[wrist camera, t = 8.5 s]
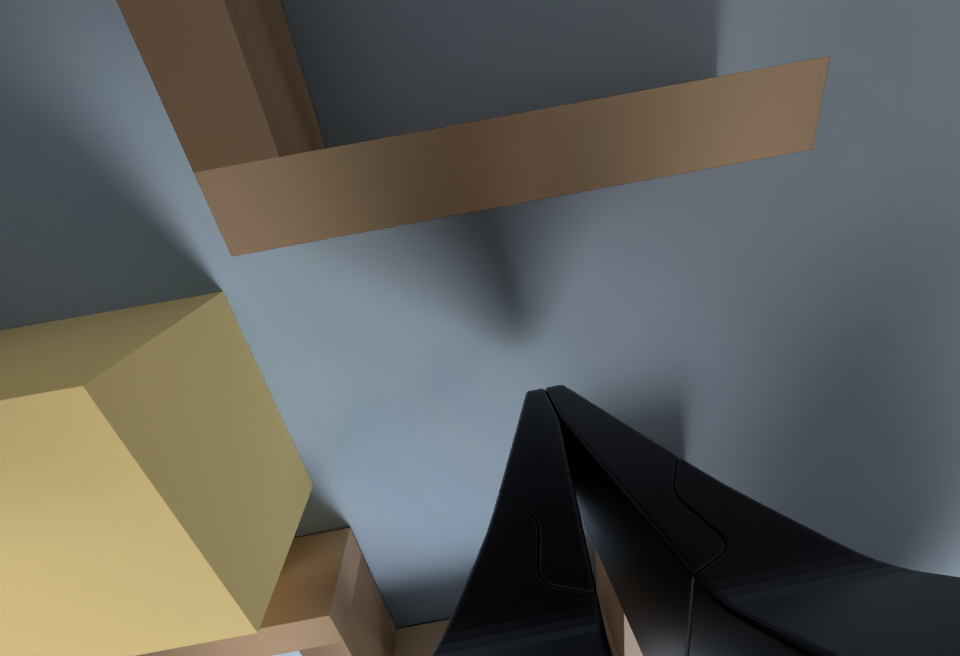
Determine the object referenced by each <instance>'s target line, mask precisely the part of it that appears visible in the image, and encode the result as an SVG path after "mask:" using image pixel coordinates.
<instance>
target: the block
mask: <svg viewBox="0 0 960 656" xmlns="http://www.w3.org/2000/svg"><path fill="white" fill-rule="evenodd" d="M312 488H313V484H312V482H311V479H310V477H309V475H308V473H307V471H306V469H305V466H304V464H303V462H302V460H301V458H300V456H299V454H298V451H297V449H296V447H295V445H294V443H293V441H292V439H291V436H290V434H289V432H288V430H287V428H286V426H285V424H284V421H283V419H282V417H281V415H280V413H279V411H278V409H277V406H276V404H275V402H274V400H273V398H272V396H271V394H270V391H269V389H268V387H267V385H266V383H265V381H264V379H263V376H262V374H261V372H260V370H259V368H258V366H257V364H256V361H255V359H254V357H253V355H252V353H251V351H250V349H249V346H248V344H247V342H246V340H245V338H244V336H243V334H242V331H241V329H240V327H239V325H238V323H237V321H236V319H235V316H234V314H233V312H232V310H231V308H230V306H229V304H228V301H227V299H226V297H225V295H224V293H223V291H222V292H217V293H211V294H205V295H199V296H194V297H188V298H182V299H176V300H171V301H165V302H159V303H153V304H148V305H142V306H136V307H130V308H125V309H119V310H113V311H108V312H102V313H96V314H90V315H85V316H79V317H73V318H67V319H62V320H56V321H50V322H44V323H39V324H33V325H27V326H21V327H16V328H10V329H4V330H0V656H136V655H141V654H147V653H152V652H157V651H163V650H168V649H174V648H179V647H184V646H190V645H195V644H201V643H206V642H211V641H217V640H222V639H228V638H233V637H238V636H244V635H249V634H255V633H258V631H259V628H260V625H261V623H262V620H263V617H264V615H265V612H266V610H267V607H268V604H269V602H270V599H271V596H272V594H273V591H274V588H275V586H276V583H277V580H278V578H279V575H280V572H281V570H282V567H283V565H284V562H285V559H286V557H287V554H288V551H289V549H290V546H291V543H292V541H293V538H294V535H295V533H296V530H297V527H298V525H299V522H300V519H301V517H302V514H303V512H304V509H305V506H306V504H307V501H308V498H309V496H310V493H311V490H312Z"/></svg>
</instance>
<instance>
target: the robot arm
mask: <svg viewBox="0 0 960 656" xmlns="http://www.w3.org/2000/svg"><path fill="white" fill-rule="evenodd" d="M580 514H581V516H582V518H583V521H584V523H585V525H586V527H587V530H588V532H589V534H590V537H591V539H592V541H593V543H594V546H595V548H596V550H597V552H598V555H599V557H600V559H601V561H602V564H603V566H604V568H605V571H606V573H607V575H608V577H609V580H610V582H611V584H612V586H613V589H614V591H615V593H616V596H617V598H618V600H619V602H620V605H621V607H622V609H623V611H624V614H625V616H626V618H627V621H628V623H629V625H630V627H631V630H632V632H633V634H634V636H635V639H636V641H637V643H638V646H639V648H640V650H641V652H642V655H643V656H960V577H953V576H947V575H940V574H933V573H926V572H920V571H914V570H909V569H905V568H901V567H897V566H893V565H890V564H887V563H884V562H881V561H878V560H875V559H873V558H870V557H868V556H865V555H863V554H860V553H858V552H856V551H854V550H852V549H850V548H847V547H845V546H843V545H841V544H839V543H837V542H835V541H833V540H831V539H829V538H827V537H825V536H824V535H822V534H820V533H818V532H816V531H814V530H812V529H810V528H808V527H806V526H804V525H802V524H800V523H798V522H796V521H794V520H792V519H790V518H788V517H786V516H784V515H782V514H780V513H778V512H776V511H775V510H773V509H771V508H769V507H767V506H765V505H763V504H761V503H759V502H757V501H755V500H753V499H751V498H749V497H748V496H746V495H744V494H742V493H740V492H738V491H736V490H734V489H733V488H731V487H729V486H727V485H725V484H723V483H722V482H720V481H718V480H716V479H715V478H713V477H711V476H710V475H708V474H706V473H705V472H703V471H701V470H699V469H698V468H696V467H695V466H693V465H691V464H690V463H688V462H687V461H685V460H683V459H681V458H680V459H678V456H677V455H675V454H673V453H672V452H670V451H668V450H667V449H665V448H664V447H662V446H660V445H659V444H657V443H656V442H654V441H652V440H651V439H649V438H648V437H646V436H644V435H643V434H641V433H639V432H638V431H636V430H635V429H633V428H631V427H630V426H628V425H627V424H625V423H623V422H622V421H620V420H619V419H617V418H615V417H614V416H612V415H610V414H609V413H607V412H606V411H604V410H602V409H601V408H599V407H598V406H596V405H594V404H593V403H591V402H590V401H588V400H586V399H585V398H583V397H581V396H580V395H578V394H577V393H575V392H573V391H572V390H570V389H569V388H567V387H565V386H564V385H557V386H552V387H548V388H546V389H545V390H544V389H537V390H532V391H528V392H527V393H526V396H525V400H524V403H523V407H522V411H521V414H520V418H519V421H518V425H517V429H516V432H515V436H514V440H513V443H512V447H511V451H510V454H509V458H508V462H507V465H506V469H505V472H504V476H503V480H502V483H501V487H500V491H499V495H498V497H497V501H496V504H495V508H494V512H493V515H492V518H491V521H490V524H489V527H488V530H487V533H486V536H485V538H484V541H483V543H482V546H481V548H480V551H479V553H478V556H477V558H476V561H475V563H474V565H473V567H472V570H471V572H470V574H469V576H468V579H467V581H466V583H465V586H464V588H463V590H462V592H461V595H460V597H459V599H458V602H457V604H456V606H455V608H454V611H453V613H452V615H451V618H450V620H449V622H448V624H447V626H446V629H445V631H444V633H443V635H442V637H441V639H440V641H439V643H438V645H437V646H436V648H435V650H434V651H433V653H432V655H431V656H613V654H612V651H611V647H610V644H609V641H608V637H607V634H606V630H605V626H604V622H603V618H602V613H601V609H600V604H599V600H598V597H597V591H596V586H595V581H594V577H593V572H592V567H591V563H590V558H589V553H588V549H587V544H586V540H585V535H584V530H583V526H582V521H581V516H580Z"/></svg>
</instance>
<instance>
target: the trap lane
mask: <svg viewBox="0 0 960 656" xmlns="http://www.w3.org/2000/svg"><path fill="white" fill-rule="evenodd" d="M116 1H117V3H118V5H119V7H120V10H121V12H122V14H123V16H124V18H125V21H126V23H127V25H128V27H129V30H130V32H131V34H132V36H133V38H134V41H135V43H136V45H137V47H138V50H139V52H140V54H141V56H142V58H143V61H144V63H145V65H146V67H147V70H148V72H149V74H150V76H151V78H152V81H153V83H154V85H155V87H156V90H157V92H158V94H159V96H160V98H161V101H162V103H163V105H164V107H165V110H166V112H167V114H168V116H169V118H170V121H171V123H172V125H173V127H174V130H175V132H176V134H177V136H178V138H179V141H180V143H181V145H182V147H183V150H184V152H185V154H186V156H187V158H188V161H189V163H190V165H191V167H192V170H193V172H194V174H195V176H196V178H197V181H198V183H199V185H200V187H201V190H202V192H203V194H204V196H205V198H206V201H207V203H208V205H209V207H210V210H211V212H212V214H213V216H214V218H215V221H216V223H217V225H218V227H219V230H220V232H221V234H222V236H223V238H224V241H225V243H226V245H227V247H228V250H229V252H230V254H231V256H237V255H242V254H248V253H253V252H259V251H264V250H269V249H275V248H280V247H286V246H291V245H296V244H302V243H307V242H313V241H318V240H323V239H329V238H334V237H340V236H345V235H351V234H356V233H361V232H367V231H372V230H378V229H383V228H388V227H394V226H399V225H405V224H410V223H416V222H421V221H426V220H432V219H437V218H443V217H448V216H453V215H459V214H464V213H470V212H475V211H480V210H486V209H491V208H497V207H502V206H508V205H513V204H518V203H524V202H529V201H535V200H540V199H545V198H551V197H556V196H562V195H567V194H573V193H578V192H583V191H589V190H594V189H600V188H605V187H610V186H616V185H621V184H627V183H632V182H637V181H643V180H648V179H654V178H659V177H665V176H670V175H675V174H681V173H686V172H692V171H697V170H702V169H708V168H713V167H719V166H724V165H730V164H735V163H740V162H746V161H751V160H757V159H762V158H767V157H773V156H778V155H784V154H789V153H795V152H800V151H805V150H811V149H813V145H814V140H815V134H816V129H817V124H818V118H819V113H820V108H821V102H822V97H823V91H824V86H825V81H826V75H827V70H828V64H829V59H830V56H828V57H822V58H817V59H812V60H806V61H801V62H795V63H790V64H784V65H779V66H773V67H768V68H762V69H757V70H752V71H746V72H741V73H735V74H730V75H724V76H719V77H713V78H708V79H702V80H697V81H692V82H686V83H681V84H675V85H670V86H664V87H659V88H653V89H648V90H642V91H637V92H631V93H626V94H621V95H615V96H610V97H604V98H599V99H593V100H588V101H582V102H577V103H571V104H566V105H561V106H555V107H550V108H544V109H539V110H533V111H528V112H522V113H517V114H511V115H506V116H501V117H495V118H490V119H484V120H479V121H473V122H468V123H462V124H457V125H451V126H446V127H441V128H435V129H430V130H424V131H419V132H413V133H408V134H402V135H397V136H391V137H386V138H381V139H375V140H370V141H364V142H359V143H353V144H348V145H342V146H337V147H331V148H326V147H325V144H324V141H323V137H322V134H321V131H320V128H319V124H318V121H317V118H316V115H315V111H314V108H313V105H312V101H311V98H310V95H309V92H308V88H307V85H306V82H305V79H304V75H303V72H302V69H301V65H300V62H299V59H298V56H297V52H296V49H295V46H294V43H293V39H292V36H291V33H290V30H289V26H288V23H287V20H286V16H285V13H284V10H283V7H282V3H281V0H116ZM594 556H595V573H596V590H597V597H598V600H599V604H600V609H601V613H602V618H603V622H604V626H605V630H606V634H607V637H608V641H609V644H610V647H611V651H612V654H613V656H643V655H642V652H641V650H640V648H639V646H638V643H637V641H636V639H635V636H634V634H633V632H632V630H631V627H630V625H629V623H628V621H627V618H626V616H625V614H624V611H623V609H622V607H621V605H620V602H619V600H618V598H617V596H616V593H615V591H614V589H613V586H612V584H611V582H610V580H609V577H608V575H607V573H606V571H605V568H604V566H603V564H602V561H601V559H600V557H599V555H598V552H597V550H596V548H595V546H594ZM449 620H450V619H448V620H443V621H437V622H432V623H427V624H422V625H417V626H411V627H406V628H401V629H396V627H395V625H394V623H393V620H392V618H391V616H390V614H389V612H388V609H387V607H386V605H385V603H384V601H383V598H382V596H381V594H380V592H379V590H378V587H377V585H376V583H375V581H374V579H373V576H372V574H371V572H370V570H369V568H368V565H367V563H366V561H365V559H364V557H363V554H362V552H361V550H360V548H359V546H358V544H357V541H356V539H355V537H354V535H353V533H352V530H351V528H345V529H340V530H334V531H329V532H324V533H318V534H313V535H308V536H303V537H297V538H293V541H292V543H291V546H290V549H289V551H288V554H287V557H286V559H285V562H284V565H283V567H282V570H281V572H280V575H279V578H278V580H277V583H276V586H275V588H274V591H273V594H272V596H271V599H270V602H269V604H268V607H267V610H266V612H265V615H264V617H263V620H262V623H261V625H260V628H259V631H258V633H255V634H249V635H244V636H238V637H233V638H228V639H222V640H217V641H211V642H206V643H201V644H195V645H190V646H184V647H179V648H174V649H168V650H163V651H157V652H152V653H147V654H141V655H136V656H272V655H277V654H282V653H287V652H293V651H298V650H299V651H300V653H301V654H302V656H431V655H432V653H433V651H434V650H435V648H436V646H437V645H438V643H439V641H440V639H441V637H442V635H443V633H444V631H445V629H446V626H447V624H448V622H449Z"/></svg>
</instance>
